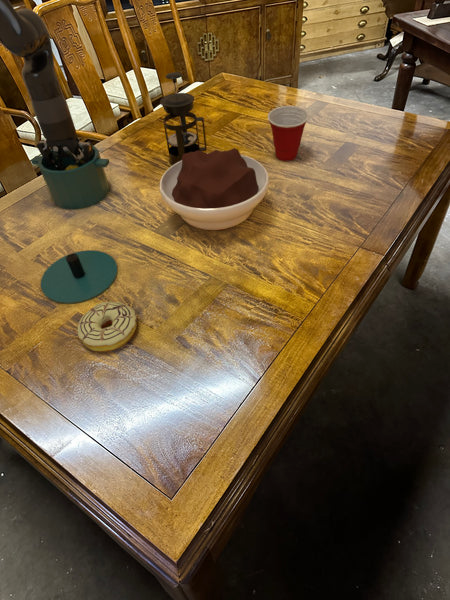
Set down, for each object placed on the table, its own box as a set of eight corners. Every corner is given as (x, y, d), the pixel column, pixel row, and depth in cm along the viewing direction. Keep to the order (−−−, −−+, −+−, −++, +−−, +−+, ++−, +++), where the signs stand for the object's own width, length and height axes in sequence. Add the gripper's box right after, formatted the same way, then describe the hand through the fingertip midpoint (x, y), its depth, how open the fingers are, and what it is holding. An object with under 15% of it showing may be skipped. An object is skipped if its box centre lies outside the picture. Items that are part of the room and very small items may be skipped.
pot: (106, 212, 105) (94, 174, 97) (34, 207, 108) (16, 170, 100) (126, 180, 114) (117, 144, 107) (59, 177, 118) (46, 141, 110)
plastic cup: (264, 165, 115) (265, 122, 107) (269, 147, 123) (269, 105, 114) (304, 167, 114) (308, 123, 105) (306, 148, 121) (310, 105, 112)
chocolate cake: (227, 260, 89) (222, 200, 78) (144, 223, 100) (130, 165, 89) (288, 204, 102) (291, 145, 91) (209, 176, 113) (203, 120, 102)
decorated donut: (140, 308, 81) (136, 294, 78) (137, 352, 74) (132, 339, 71) (87, 313, 81) (81, 300, 78) (78, 358, 74) (71, 345, 71)
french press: (164, 169, 118) (149, 82, 101) (169, 152, 124) (155, 68, 107) (206, 167, 117) (197, 79, 100) (208, 151, 123) (200, 66, 106)
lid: (101, 309, 82) (92, 288, 77) (28, 301, 84) (16, 280, 80) (128, 257, 92) (122, 235, 88) (63, 251, 95) (54, 230, 91)
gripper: (88, 108, 97) (108, 174, 110) (33, 107, 100) (58, 171, 112) (75, 122, 92) (96, 189, 105) (17, 121, 95) (45, 187, 107)
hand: (76, 180), depth 108 cm, fingers closed on lemon, 5 cm apart
